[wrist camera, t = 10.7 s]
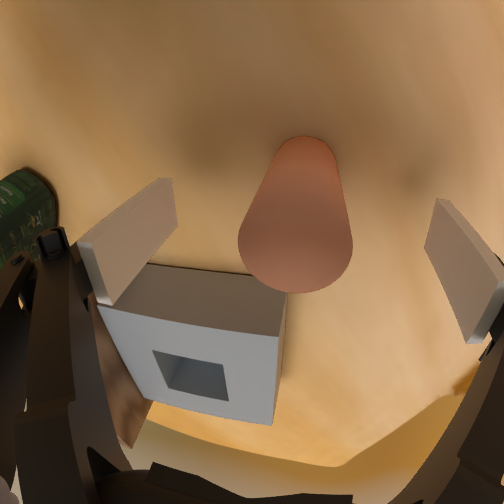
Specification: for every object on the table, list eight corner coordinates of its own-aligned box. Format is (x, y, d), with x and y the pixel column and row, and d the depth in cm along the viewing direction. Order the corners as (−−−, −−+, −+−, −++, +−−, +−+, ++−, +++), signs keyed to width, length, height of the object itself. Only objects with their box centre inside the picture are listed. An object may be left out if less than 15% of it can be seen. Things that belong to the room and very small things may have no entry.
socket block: (131, 262, 26) (96, 305, 21) (288, 279, 23) (278, 337, 18) (163, 358, 33) (144, 397, 28) (280, 378, 31) (271, 425, 26)
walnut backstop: (105, 230, 25) (18, 320, 15) (122, 232, 24) (34, 327, 14) (153, 366, 36) (116, 443, 26) (167, 370, 35) (131, 449, 25)
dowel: (274, 134, 18) (235, 190, 10) (338, 138, 17) (360, 200, 9) (274, 192, 20) (240, 287, 12) (333, 197, 19) (343, 297, 11)
